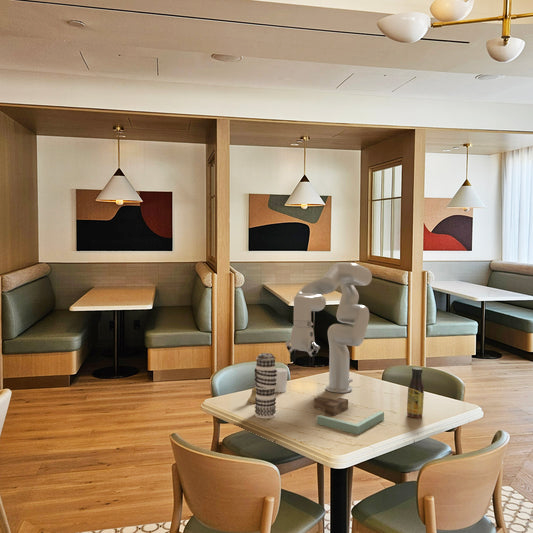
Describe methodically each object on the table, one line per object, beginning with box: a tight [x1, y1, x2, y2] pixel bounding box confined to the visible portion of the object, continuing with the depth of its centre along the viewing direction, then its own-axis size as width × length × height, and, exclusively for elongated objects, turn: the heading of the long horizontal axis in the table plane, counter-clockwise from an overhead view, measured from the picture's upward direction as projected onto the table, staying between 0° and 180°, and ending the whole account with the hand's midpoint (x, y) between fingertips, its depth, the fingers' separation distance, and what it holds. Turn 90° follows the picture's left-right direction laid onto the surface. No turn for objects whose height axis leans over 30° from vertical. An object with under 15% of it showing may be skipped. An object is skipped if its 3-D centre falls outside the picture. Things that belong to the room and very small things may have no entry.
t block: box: [313, 396, 349, 417], centre depth 222 cm, size 12×12×4 cm
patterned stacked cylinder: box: [254, 352, 277, 419], centre depth 214 cm, size 9×9×25 cm
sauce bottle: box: [406, 366, 425, 419], centre depth 214 cm, size 6×6×20 cm
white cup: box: [275, 367, 289, 393], centre depth 250 cm, size 8×8×10 cm
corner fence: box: [316, 410, 385, 435], centre depth 207 cm, size 22×18×3 cm
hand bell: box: [247, 370, 257, 404], centre depth 233 cm, size 8×8×16 cm
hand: (301, 363), depth 227 cm, fingers open, 9 cm apart
